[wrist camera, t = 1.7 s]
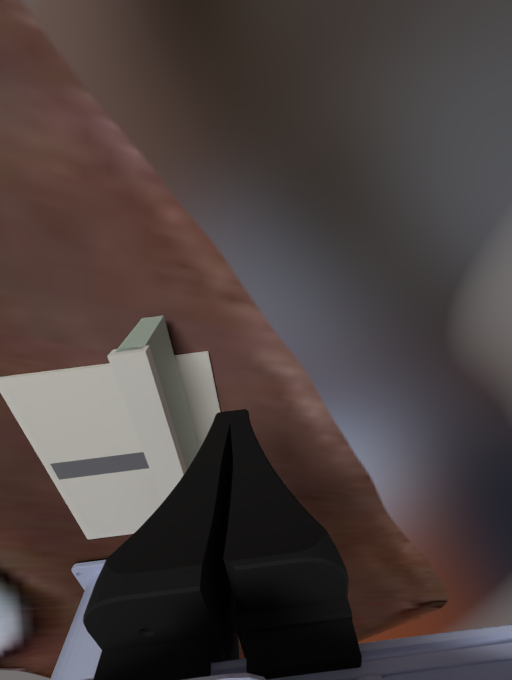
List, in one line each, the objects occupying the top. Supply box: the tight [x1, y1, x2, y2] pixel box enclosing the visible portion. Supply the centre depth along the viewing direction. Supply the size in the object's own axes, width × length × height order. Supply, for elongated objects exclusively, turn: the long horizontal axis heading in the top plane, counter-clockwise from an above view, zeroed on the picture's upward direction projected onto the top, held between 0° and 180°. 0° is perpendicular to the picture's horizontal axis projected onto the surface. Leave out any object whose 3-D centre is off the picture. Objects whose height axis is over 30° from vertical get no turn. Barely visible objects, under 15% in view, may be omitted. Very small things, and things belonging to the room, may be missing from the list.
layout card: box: [0, 351, 220, 539], centre depth 21 cm, size 16×13×1 cm
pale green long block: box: [107, 316, 199, 503], centre depth 17 cm, size 12×2×4 cm, turn 6°
